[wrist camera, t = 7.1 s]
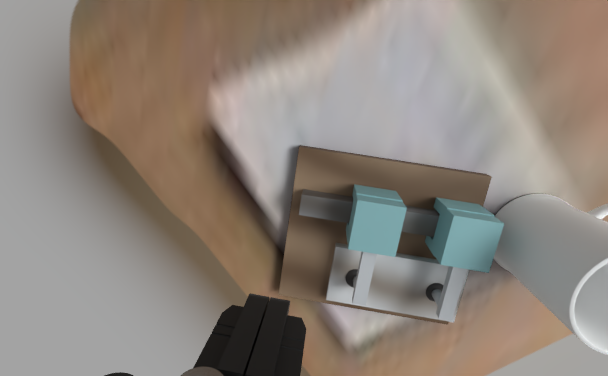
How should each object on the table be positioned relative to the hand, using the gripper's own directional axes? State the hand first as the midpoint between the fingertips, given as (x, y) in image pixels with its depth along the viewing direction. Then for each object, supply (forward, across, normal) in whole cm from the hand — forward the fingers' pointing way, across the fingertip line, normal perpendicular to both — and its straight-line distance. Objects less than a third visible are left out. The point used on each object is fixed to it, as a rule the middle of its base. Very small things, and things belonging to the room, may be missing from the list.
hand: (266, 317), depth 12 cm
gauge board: (+22, -8, +5) cm, 24 cm away
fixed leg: (+21, -14, +5) cm, 26 cm away
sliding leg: (+21, -6, +5) cm, 22 cm away
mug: (+23, -24, +1) cm, 33 cm away
